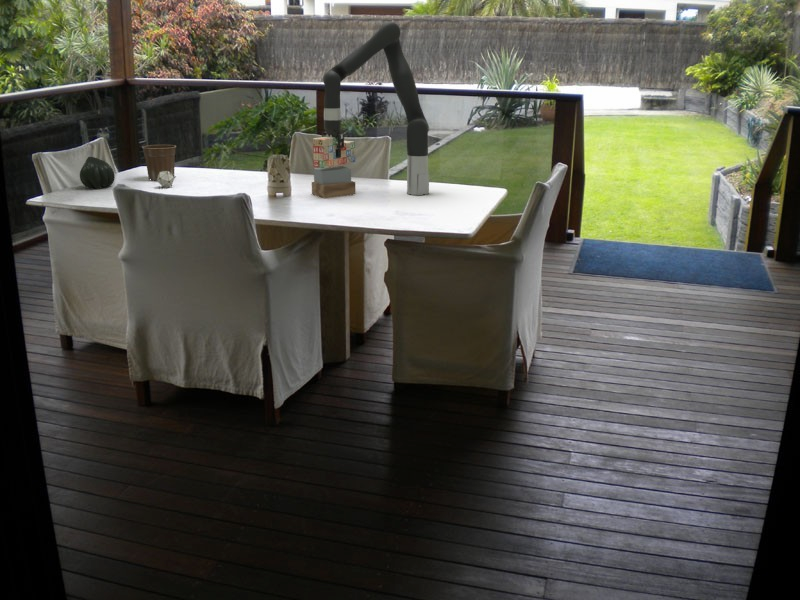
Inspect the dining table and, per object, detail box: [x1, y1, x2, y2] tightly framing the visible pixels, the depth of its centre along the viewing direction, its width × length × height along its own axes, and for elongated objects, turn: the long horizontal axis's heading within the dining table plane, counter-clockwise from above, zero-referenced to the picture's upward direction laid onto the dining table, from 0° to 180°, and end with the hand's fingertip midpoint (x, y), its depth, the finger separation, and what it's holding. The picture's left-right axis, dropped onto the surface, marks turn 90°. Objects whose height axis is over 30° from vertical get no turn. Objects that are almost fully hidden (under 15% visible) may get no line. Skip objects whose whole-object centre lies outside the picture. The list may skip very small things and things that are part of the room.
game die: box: [154, 170, 177, 189], centre depth 394 cm, size 9×8×10 cm
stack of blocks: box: [312, 136, 356, 168], centre depth 374 cm, size 21×6×12 cm, turn 144°
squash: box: [79, 156, 116, 190], centre depth 393 cm, size 14×15×15 cm
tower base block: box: [311, 180, 356, 199], centre depth 379 cm, size 11×16×6 cm
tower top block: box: [313, 165, 352, 185], centre depth 377 cm, size 9×14×6 cm, turn 118°
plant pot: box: [141, 144, 177, 181], centre depth 415 cm, size 16×16×16 cm
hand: (333, 156), depth 374 cm, fingers closed on stack of blocks, 7 cm apart
